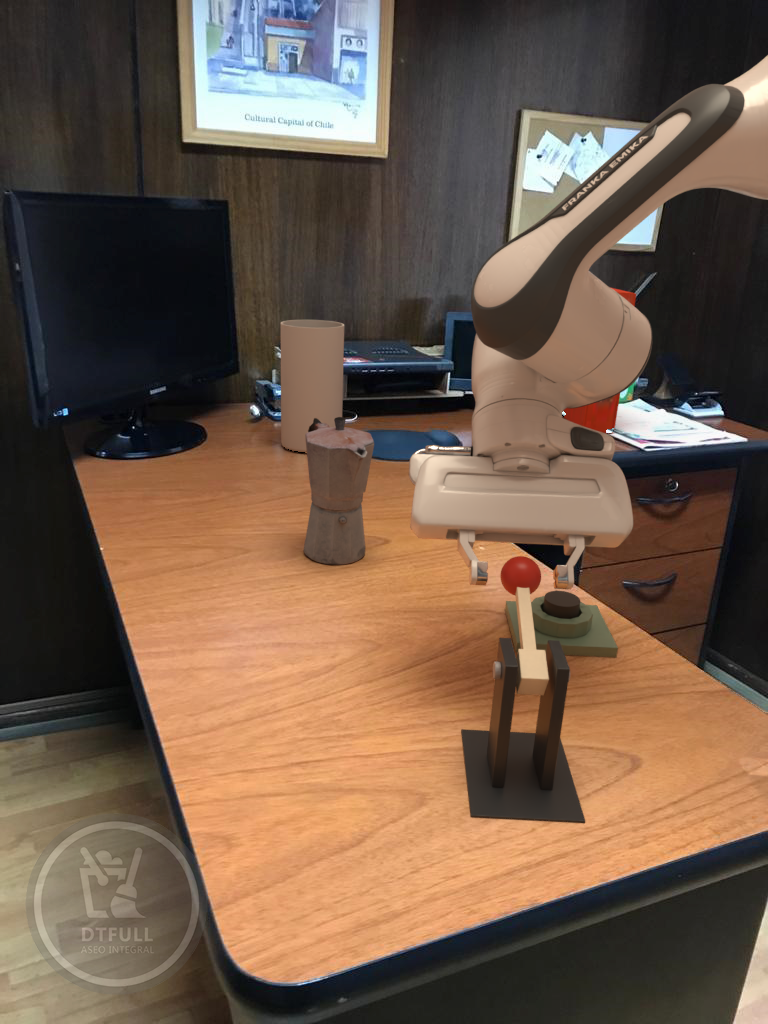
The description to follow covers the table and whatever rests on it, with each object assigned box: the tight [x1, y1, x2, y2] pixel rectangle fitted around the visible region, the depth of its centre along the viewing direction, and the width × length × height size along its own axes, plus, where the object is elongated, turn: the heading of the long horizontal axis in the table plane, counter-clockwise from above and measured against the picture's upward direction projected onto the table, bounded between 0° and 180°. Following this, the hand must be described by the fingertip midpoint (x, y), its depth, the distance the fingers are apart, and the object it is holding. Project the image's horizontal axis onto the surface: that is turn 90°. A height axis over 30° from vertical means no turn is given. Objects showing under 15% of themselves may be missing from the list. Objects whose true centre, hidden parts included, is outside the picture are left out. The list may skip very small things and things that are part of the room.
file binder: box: [563, 287, 637, 434], centre depth 184 cm, size 8×17×32 cm, turn 5°
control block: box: [504, 595, 619, 658], centre depth 89 cm, size 11×10×4 cm
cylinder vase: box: [280, 319, 345, 453], centre depth 156 cm, size 12×12×25 cm
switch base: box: [460, 637, 586, 824], centre depth 64 cm, size 11×9×13 cm
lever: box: [499, 555, 549, 696], centre depth 66 cm, size 13×4×4 cm, turn 179°
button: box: [543, 590, 581, 619], centre depth 88 cm, size 4×4×2 cm
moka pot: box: [303, 416, 375, 566], centre depth 107 cm, size 10×15×20 cm, turn 36°
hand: (521, 585), depth 69 cm, fingers open, 6 cm apart
